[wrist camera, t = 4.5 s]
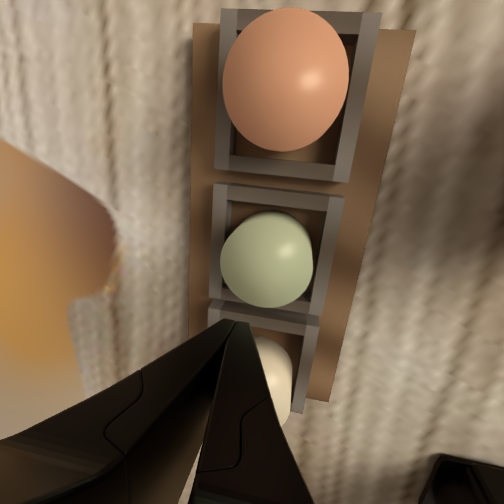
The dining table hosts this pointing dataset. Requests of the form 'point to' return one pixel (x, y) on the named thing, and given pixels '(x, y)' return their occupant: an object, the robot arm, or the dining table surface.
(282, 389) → the cream button
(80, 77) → the dining table surface
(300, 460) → the dining table surface
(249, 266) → the sage green rounded piece
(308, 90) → the terracotta button
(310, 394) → the brown compartment tray
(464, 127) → the dining table surface
